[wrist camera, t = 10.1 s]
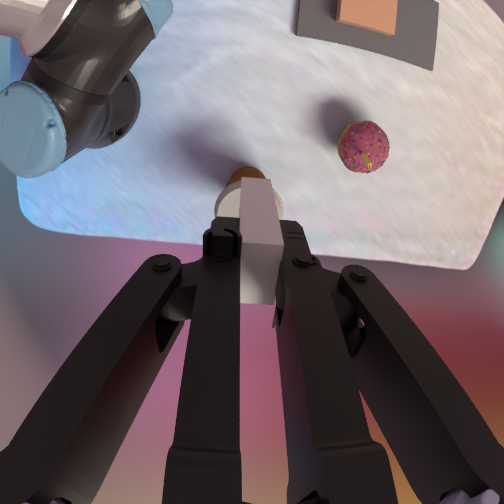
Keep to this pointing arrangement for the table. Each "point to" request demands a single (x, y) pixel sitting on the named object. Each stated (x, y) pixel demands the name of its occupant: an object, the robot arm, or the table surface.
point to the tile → (369, 14)
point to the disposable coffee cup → (231, 194)
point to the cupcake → (363, 146)
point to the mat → (396, 46)
